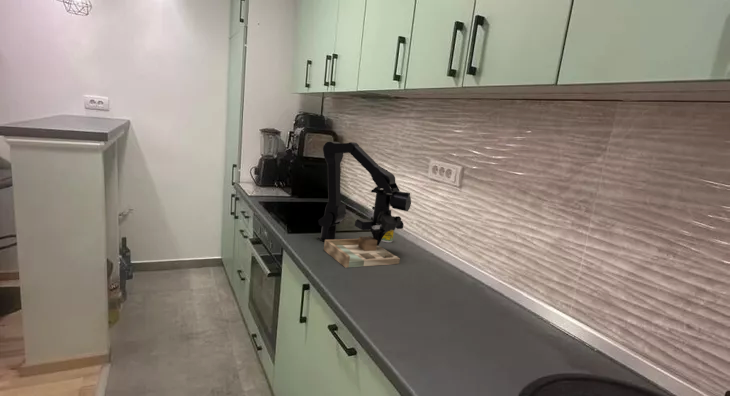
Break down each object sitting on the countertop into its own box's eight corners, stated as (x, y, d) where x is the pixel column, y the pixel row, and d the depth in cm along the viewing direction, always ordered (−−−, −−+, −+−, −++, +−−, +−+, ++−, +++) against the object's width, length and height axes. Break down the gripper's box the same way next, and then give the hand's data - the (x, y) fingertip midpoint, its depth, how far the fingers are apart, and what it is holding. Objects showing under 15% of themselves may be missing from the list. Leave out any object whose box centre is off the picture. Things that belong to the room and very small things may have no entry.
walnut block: (358, 246, 153) (359, 236, 153) (369, 246, 156) (370, 236, 155) (364, 251, 149) (366, 240, 148) (376, 250, 152) (377, 240, 151)
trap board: (323, 250, 150) (324, 239, 150) (373, 247, 162) (375, 238, 161) (345, 267, 135) (346, 256, 135) (399, 263, 146) (400, 253, 146)
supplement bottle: (390, 239, 177) (394, 218, 175) (393, 243, 172) (396, 221, 170) (378, 238, 176) (382, 217, 174) (381, 242, 171) (384, 220, 169)
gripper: (372, 211, 140) (366, 254, 143) (414, 211, 150) (408, 251, 153) (356, 203, 150) (351, 244, 152) (397, 204, 159) (392, 242, 162)
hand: (376, 245), depth 155 cm, fingers closed
